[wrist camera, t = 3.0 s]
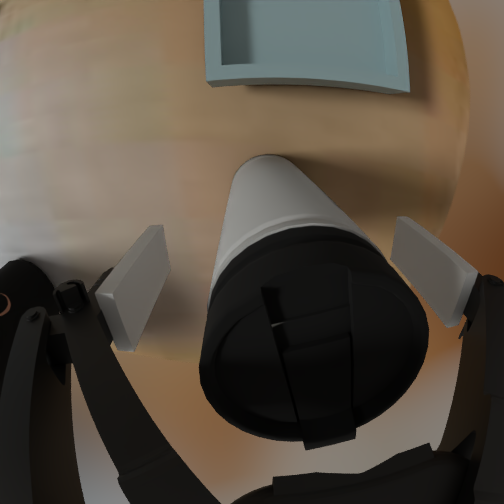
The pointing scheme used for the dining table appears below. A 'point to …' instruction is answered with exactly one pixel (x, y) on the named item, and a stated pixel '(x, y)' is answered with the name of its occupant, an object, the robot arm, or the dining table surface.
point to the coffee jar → (20, 302)
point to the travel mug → (303, 315)
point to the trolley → (307, 44)
